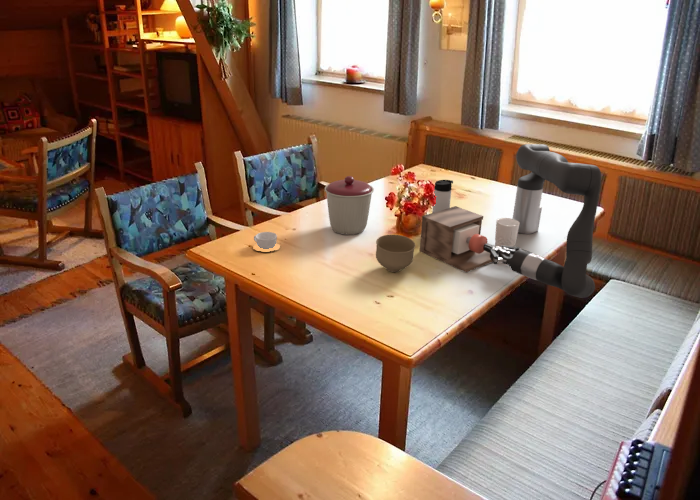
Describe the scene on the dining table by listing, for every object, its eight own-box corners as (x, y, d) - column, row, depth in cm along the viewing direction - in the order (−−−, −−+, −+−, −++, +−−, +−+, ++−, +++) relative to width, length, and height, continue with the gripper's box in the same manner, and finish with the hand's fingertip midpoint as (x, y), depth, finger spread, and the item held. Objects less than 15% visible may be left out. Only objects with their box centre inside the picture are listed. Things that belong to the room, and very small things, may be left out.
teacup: (286, 245, 206) (285, 233, 204) (270, 256, 197) (270, 243, 195) (262, 240, 209) (262, 228, 208) (246, 250, 201) (245, 238, 199)
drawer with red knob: (489, 252, 196) (492, 230, 193) (470, 259, 190) (473, 237, 187) (461, 240, 205) (463, 219, 201) (442, 247, 199) (444, 225, 196)
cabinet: (498, 259, 198) (503, 223, 193) (466, 272, 188) (470, 235, 183) (452, 240, 213) (455, 206, 207) (419, 251, 203) (422, 216, 198)
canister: (316, 234, 215) (316, 179, 207) (335, 218, 231) (336, 167, 222) (361, 242, 209) (363, 186, 201) (378, 225, 224) (381, 173, 216)
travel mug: (447, 234, 217) (452, 183, 209) (430, 233, 218) (434, 182, 210) (448, 228, 223) (453, 178, 215) (431, 227, 224) (435, 177, 216)
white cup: (516, 245, 210) (520, 219, 205) (514, 253, 203) (518, 227, 199) (494, 242, 212) (497, 216, 208) (491, 250, 205) (495, 224, 201)
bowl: (387, 281, 181) (389, 252, 177) (367, 265, 191) (368, 237, 187) (421, 274, 187) (423, 245, 183) (400, 258, 197) (401, 231, 193)
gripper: (544, 248, 181) (498, 231, 193) (518, 259, 173) (473, 240, 185) (540, 269, 184) (495, 251, 196) (515, 281, 176) (470, 261, 188)
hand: (484, 246), depth 191 cm, fingers closed
